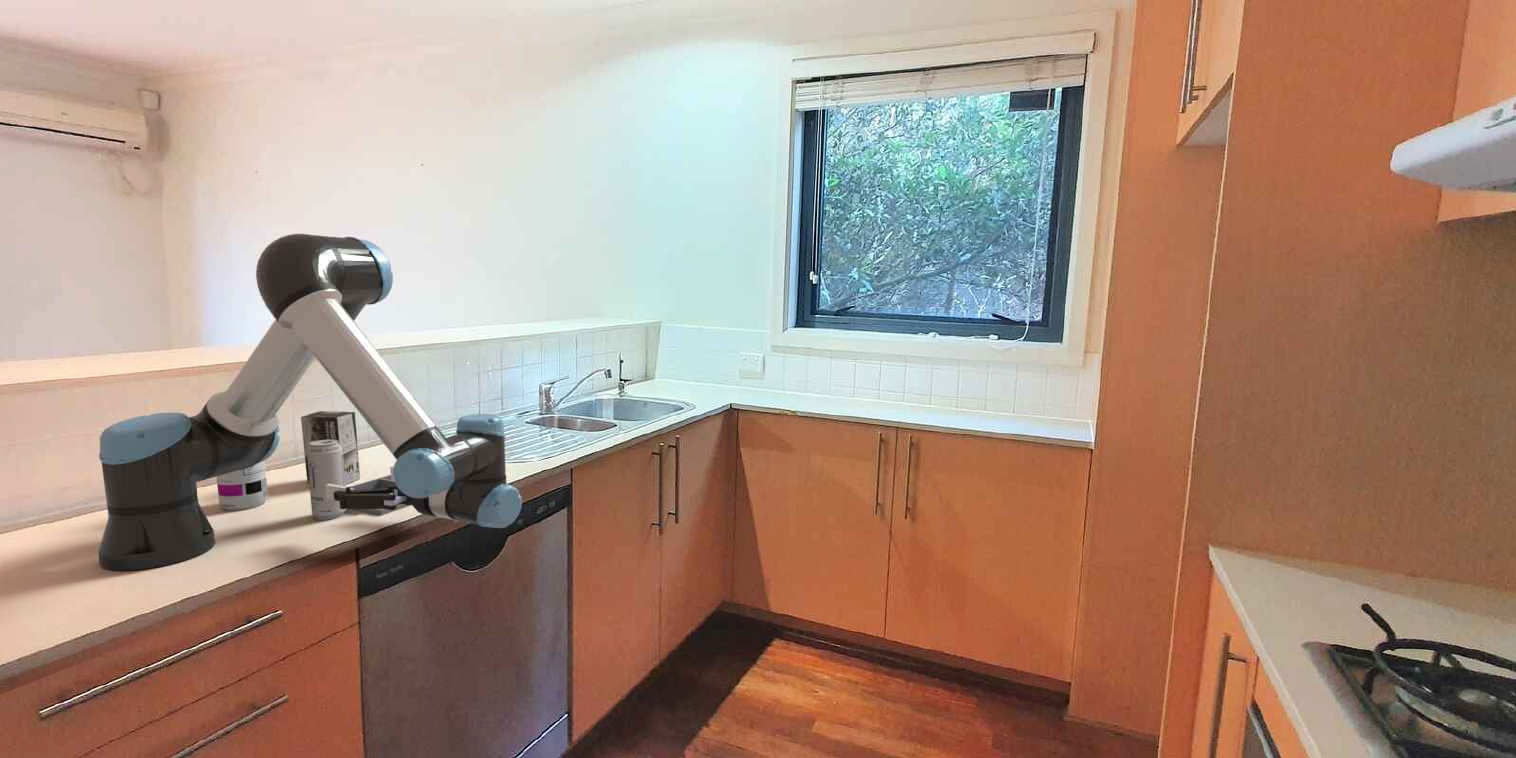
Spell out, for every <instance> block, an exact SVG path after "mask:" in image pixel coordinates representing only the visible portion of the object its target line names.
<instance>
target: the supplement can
mask: <svg viewBox="0 0 1516 758" xmlns="http://www.w3.org/2000/svg"><path fill="white" fill-rule="evenodd" d="M265 461H266V460H264V461H263V462H261V463H258V464H255V465H254V466H252V467H250V468H247V469H243V470H238V471H234V472H230V473H227V474H223V475H220V476H216V477H215V478H216V483H217V484H216V485H217V494H218V495H217V496H218V503H219V504H218V505H219V507H220V508H223V510H225V509H226V510H225V511H241V510H248V509H253V508H256V507H260V506H262V505H264V504H265V503H266V501H267V500H268V499H269V494H268V484H267V483H268V481H267V474H266V472H267V470H266V462H265Z"/></svg>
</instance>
